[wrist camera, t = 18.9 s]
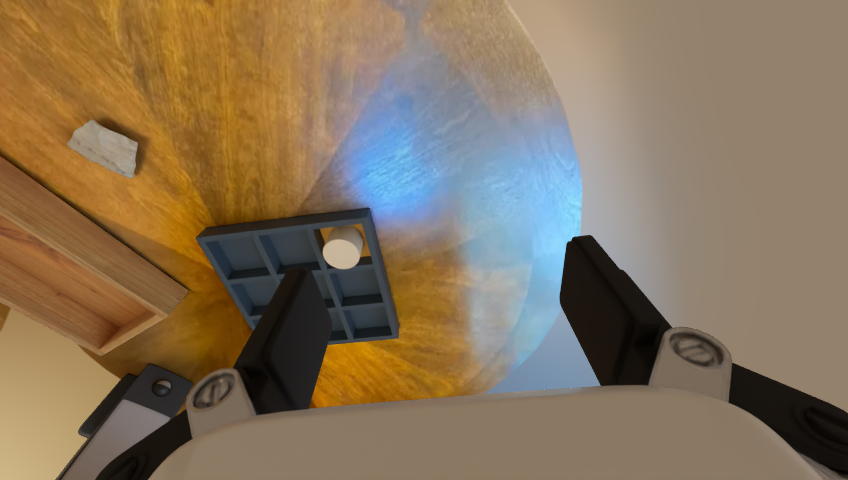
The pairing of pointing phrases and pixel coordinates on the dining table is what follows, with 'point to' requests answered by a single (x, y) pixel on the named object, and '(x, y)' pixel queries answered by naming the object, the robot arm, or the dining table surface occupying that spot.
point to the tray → (74, 270)
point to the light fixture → (126, 419)
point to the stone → (105, 148)
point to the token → (343, 247)
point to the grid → (303, 247)
